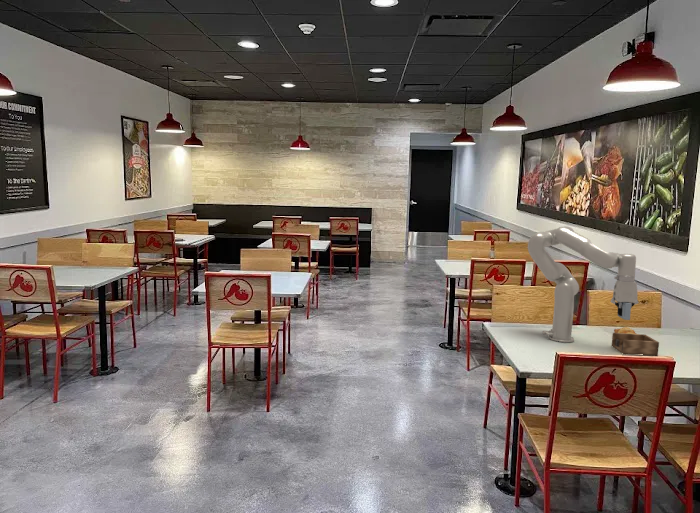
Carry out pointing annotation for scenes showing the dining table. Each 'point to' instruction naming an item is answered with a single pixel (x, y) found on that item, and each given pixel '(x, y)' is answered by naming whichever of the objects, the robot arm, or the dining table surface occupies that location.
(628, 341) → the wooden box
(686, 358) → the dining table surface
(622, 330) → the croissant
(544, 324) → the dining table surface
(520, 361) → the dining table surface
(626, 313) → the blue-gray flat block
